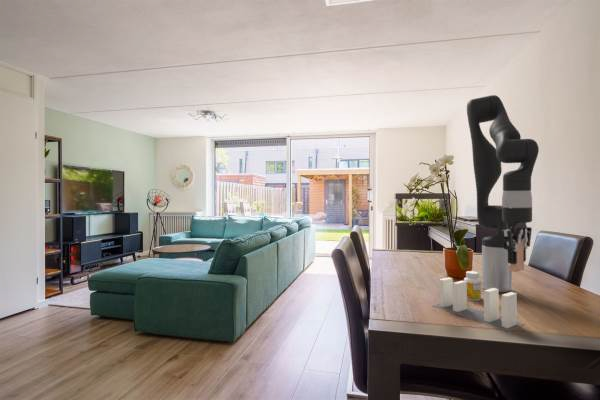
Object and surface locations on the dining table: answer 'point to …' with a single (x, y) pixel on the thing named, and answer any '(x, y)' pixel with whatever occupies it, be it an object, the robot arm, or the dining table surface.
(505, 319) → the domino
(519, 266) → the domino
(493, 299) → the domino
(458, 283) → the domino
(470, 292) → the supplement bottle
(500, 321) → the mat
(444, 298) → the domino
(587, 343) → the dining table surface
